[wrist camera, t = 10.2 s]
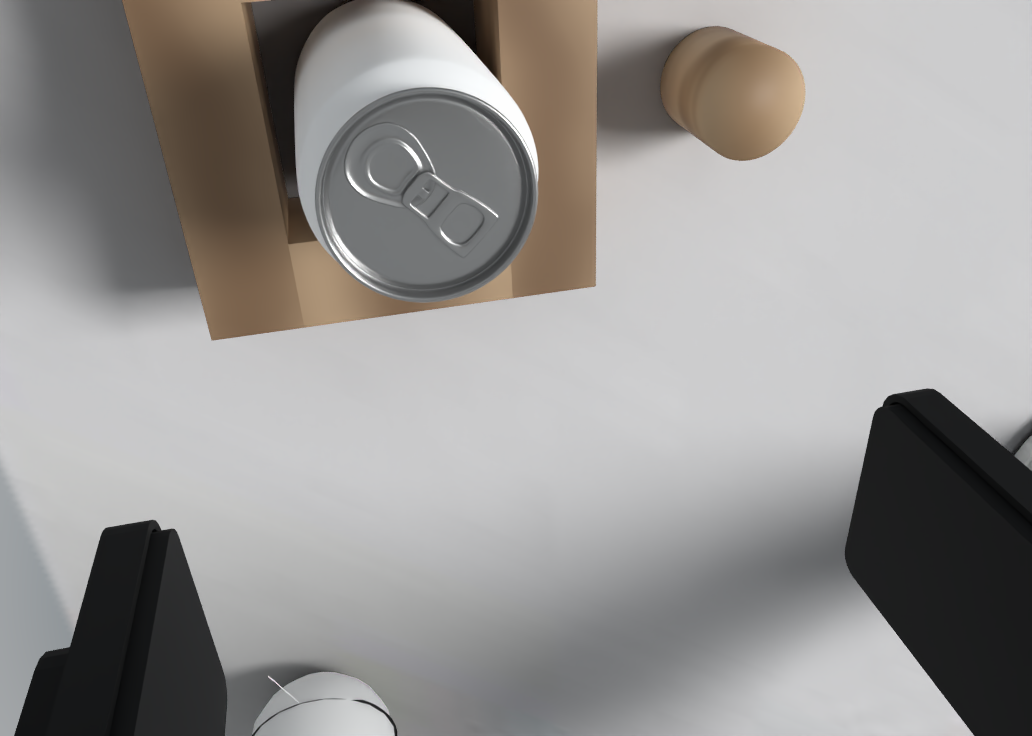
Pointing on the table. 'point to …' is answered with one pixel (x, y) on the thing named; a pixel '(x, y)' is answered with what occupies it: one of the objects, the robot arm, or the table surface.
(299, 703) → the white rounded egg-shaped part
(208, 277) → the wooden rectangular frame
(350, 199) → the can
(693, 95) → the peg short
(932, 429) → the robot arm
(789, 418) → the table surface
